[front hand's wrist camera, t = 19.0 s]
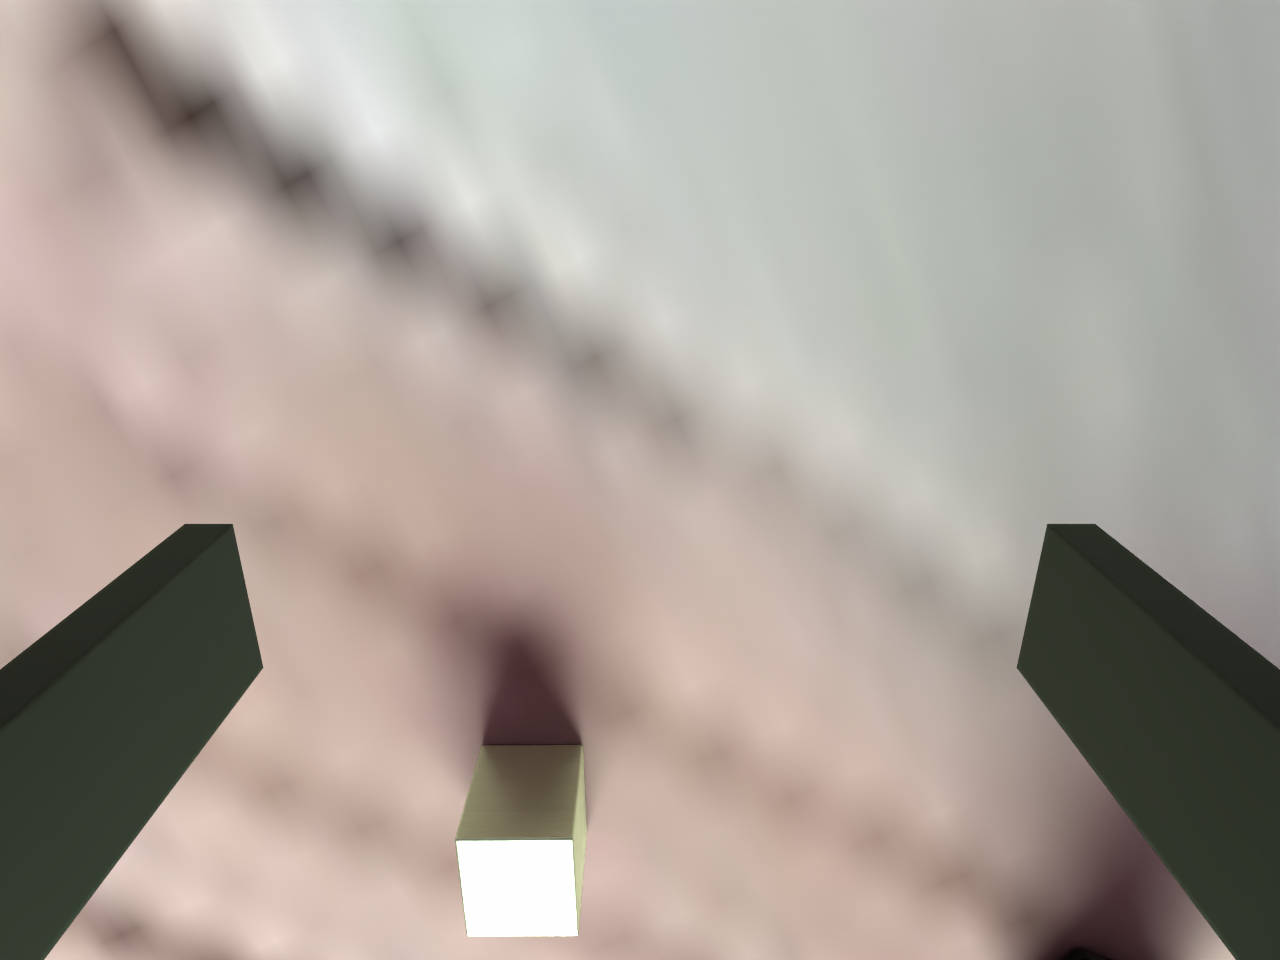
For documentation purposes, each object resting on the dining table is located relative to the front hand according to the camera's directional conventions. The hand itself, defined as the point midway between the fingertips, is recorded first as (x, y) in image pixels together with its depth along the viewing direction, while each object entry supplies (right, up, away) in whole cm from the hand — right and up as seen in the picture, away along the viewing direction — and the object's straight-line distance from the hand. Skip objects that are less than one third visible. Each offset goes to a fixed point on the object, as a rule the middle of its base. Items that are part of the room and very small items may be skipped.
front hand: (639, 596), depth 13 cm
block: (-4, -11, +19) cm, 23 cm away
